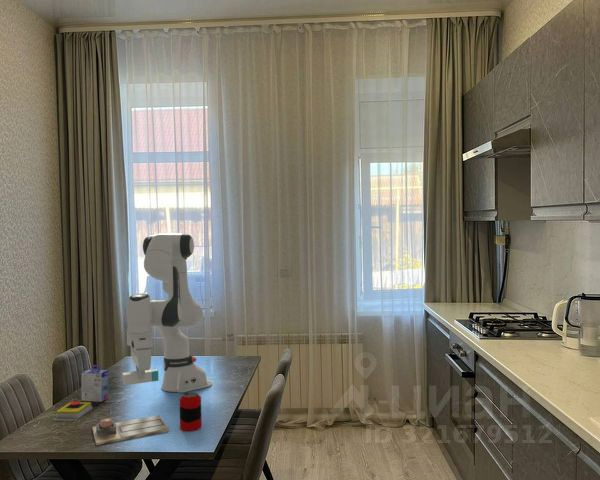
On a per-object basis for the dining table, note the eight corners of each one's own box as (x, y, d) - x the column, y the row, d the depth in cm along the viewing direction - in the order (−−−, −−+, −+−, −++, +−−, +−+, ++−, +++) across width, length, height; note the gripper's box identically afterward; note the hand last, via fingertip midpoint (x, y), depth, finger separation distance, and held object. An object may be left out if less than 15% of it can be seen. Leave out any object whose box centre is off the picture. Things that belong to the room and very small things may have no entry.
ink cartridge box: (109, 398, 220) (108, 364, 219) (102, 402, 214) (101, 368, 214) (89, 396, 222) (88, 363, 221) (81, 401, 216) (80, 367, 216)
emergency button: (94, 397, 208) (74, 410, 193) (94, 408, 208) (75, 422, 193) (72, 397, 209) (51, 410, 194) (72, 408, 209) (51, 421, 194)
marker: (122, 382, 184) (122, 372, 183) (156, 378, 189) (156, 368, 189) (123, 385, 180) (123, 375, 180) (158, 380, 186) (158, 370, 186)
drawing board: (159, 417, 196) (159, 408, 196) (168, 431, 181) (168, 422, 181) (92, 429, 185) (92, 420, 185) (96, 445, 171) (96, 435, 170)
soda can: (190, 422, 190) (189, 390, 190) (205, 426, 186) (205, 393, 186) (175, 429, 184) (175, 396, 183) (191, 433, 180) (190, 399, 180)
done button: (111, 426, 182) (111, 417, 182) (112, 429, 179) (112, 421, 179) (99, 428, 180) (99, 419, 180) (100, 432, 177) (100, 423, 177)
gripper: (126, 335, 192) (127, 371, 192) (135, 345, 174) (135, 385, 174) (143, 333, 195) (144, 369, 195) (154, 343, 177) (154, 383, 177)
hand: (140, 377), depth 185 cm, fingers closed on marker, 4 cm apart
